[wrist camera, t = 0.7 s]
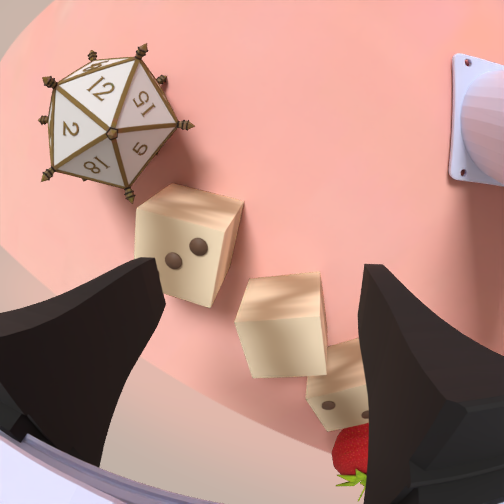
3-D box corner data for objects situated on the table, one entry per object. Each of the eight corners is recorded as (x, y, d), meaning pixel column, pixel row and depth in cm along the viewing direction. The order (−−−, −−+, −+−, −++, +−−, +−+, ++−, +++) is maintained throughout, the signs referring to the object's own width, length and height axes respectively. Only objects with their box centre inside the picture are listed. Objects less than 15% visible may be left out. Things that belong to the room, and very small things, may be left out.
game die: (159, 134, 23) (66, 228, 19) (104, 45, 18) (-11, 133, 13) (247, 122, 18) (126, 253, 13) (181, -7, 12) (3, 98, 8)
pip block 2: (367, 334, 24) (374, 383, 19) (381, 372, 25) (387, 419, 21) (307, 351, 26) (303, 400, 21) (327, 387, 27) (325, 433, 23)
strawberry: (361, 433, 30) (361, 513, 21) (319, 406, 29) (311, 497, 20) (407, 412, 27) (417, 496, 19) (369, 380, 26) (375, 480, 17)
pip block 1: (244, 200, 21) (223, 233, 16) (230, 266, 23) (209, 309, 19) (170, 182, 21) (133, 208, 16) (164, 246, 23) (131, 283, 19)
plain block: (319, 270, 22) (319, 315, 18) (326, 326, 24) (326, 374, 20) (249, 278, 23) (234, 322, 19) (263, 331, 25) (252, 378, 21)
